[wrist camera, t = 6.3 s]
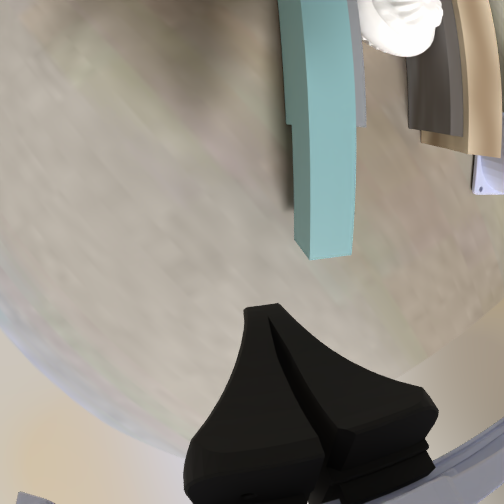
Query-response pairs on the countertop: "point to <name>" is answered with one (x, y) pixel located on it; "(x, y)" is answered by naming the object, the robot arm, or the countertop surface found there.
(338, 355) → the robot arm
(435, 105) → the wooden block
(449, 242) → the countertop surface
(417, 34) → the white ribbed dome
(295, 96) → the movable jaw
